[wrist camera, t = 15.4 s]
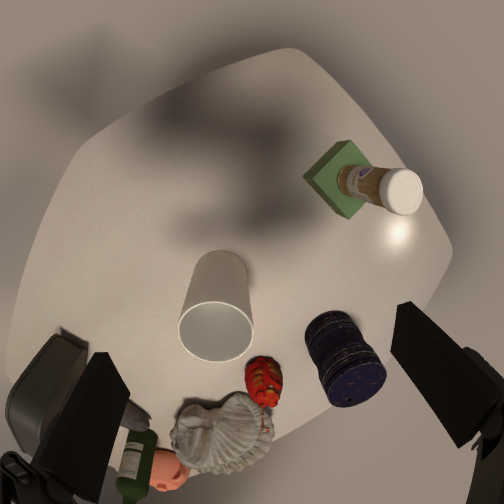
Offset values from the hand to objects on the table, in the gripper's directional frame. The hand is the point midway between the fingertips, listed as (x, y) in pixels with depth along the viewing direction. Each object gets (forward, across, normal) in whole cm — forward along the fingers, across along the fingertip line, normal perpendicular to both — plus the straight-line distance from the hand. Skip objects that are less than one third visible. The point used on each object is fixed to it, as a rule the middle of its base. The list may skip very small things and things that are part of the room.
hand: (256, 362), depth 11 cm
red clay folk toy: (+31, 0, -30) cm, 43 cm away
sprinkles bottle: (+26, +16, +4) cm, 31 cm away
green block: (+31, +16, +4) cm, 35 cm away
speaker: (+31, -44, -27) cm, 60 cm away
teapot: (+31, -35, -67) cm, 82 cm away
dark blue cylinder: (+31, +13, -24) cm, 41 cm away
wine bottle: (+31, -35, -51) cm, 69 cm away
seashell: (+31, -12, -44) cm, 55 cm away
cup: (+31, -4, -9) cm, 33 cm away
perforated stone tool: (+31, -34, -38) cm, 59 cm away
